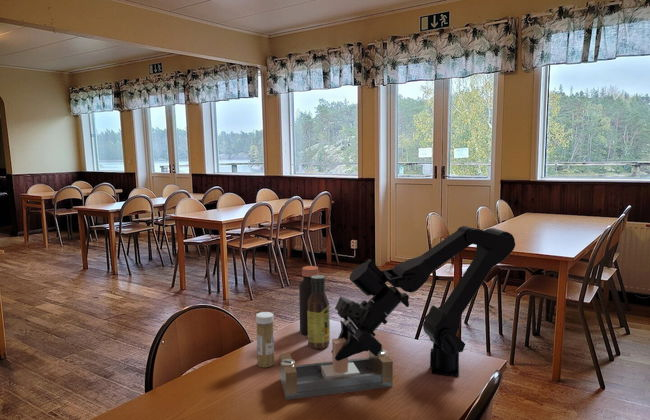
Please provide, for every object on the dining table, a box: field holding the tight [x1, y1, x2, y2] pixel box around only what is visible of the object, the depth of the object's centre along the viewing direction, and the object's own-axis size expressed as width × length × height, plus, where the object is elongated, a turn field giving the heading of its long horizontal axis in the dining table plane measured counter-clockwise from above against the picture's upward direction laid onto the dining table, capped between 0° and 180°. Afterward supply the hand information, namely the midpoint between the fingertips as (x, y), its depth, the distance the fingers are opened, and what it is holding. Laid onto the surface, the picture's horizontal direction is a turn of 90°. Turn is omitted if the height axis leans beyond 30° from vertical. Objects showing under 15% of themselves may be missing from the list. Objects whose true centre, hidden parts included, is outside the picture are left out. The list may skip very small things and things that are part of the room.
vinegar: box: [298, 265, 319, 337], centre depth 145 cm, size 7×7×20 cm
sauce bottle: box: [307, 275, 331, 350], centre depth 135 cm, size 7×6×20 cm
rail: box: [279, 348, 394, 401], centre depth 114 cm, size 26×10×7 cm, turn 103°
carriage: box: [321, 337, 360, 379], centre depth 114 cm, size 8×6×9 cm
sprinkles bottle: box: [255, 311, 275, 368], centre depth 124 cm, size 5×5×13 cm
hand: (334, 356), depth 113 cm, fingers closed on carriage, 3 cm apart
